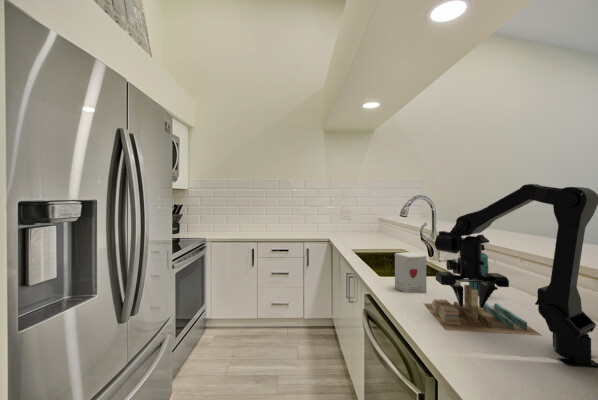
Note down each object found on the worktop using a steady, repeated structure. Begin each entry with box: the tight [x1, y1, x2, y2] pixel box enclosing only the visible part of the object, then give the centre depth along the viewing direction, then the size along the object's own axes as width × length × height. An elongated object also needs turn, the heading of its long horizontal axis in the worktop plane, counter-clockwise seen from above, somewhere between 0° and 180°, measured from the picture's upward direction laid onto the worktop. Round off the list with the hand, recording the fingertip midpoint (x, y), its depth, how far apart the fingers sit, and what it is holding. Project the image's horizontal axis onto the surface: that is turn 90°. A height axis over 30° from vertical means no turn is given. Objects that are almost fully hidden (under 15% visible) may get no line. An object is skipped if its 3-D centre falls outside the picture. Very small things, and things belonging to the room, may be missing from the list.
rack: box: [423, 301, 543, 336], centre depth 84 cm, size 20×24×3 cm
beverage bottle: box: [468, 243, 490, 296], centre depth 105 cm, size 6×7×20 cm
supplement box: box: [394, 251, 427, 294], centre depth 112 cm, size 9×9×15 cm
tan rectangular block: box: [463, 284, 479, 319], centre depth 84 cm, size 5×2×9 cm, turn 172°
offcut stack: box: [431, 298, 461, 325], centre depth 85 cm, size 12×4×4 cm, turn 172°
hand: (471, 307), depth 84 cm, fingers open, 5 cm apart
